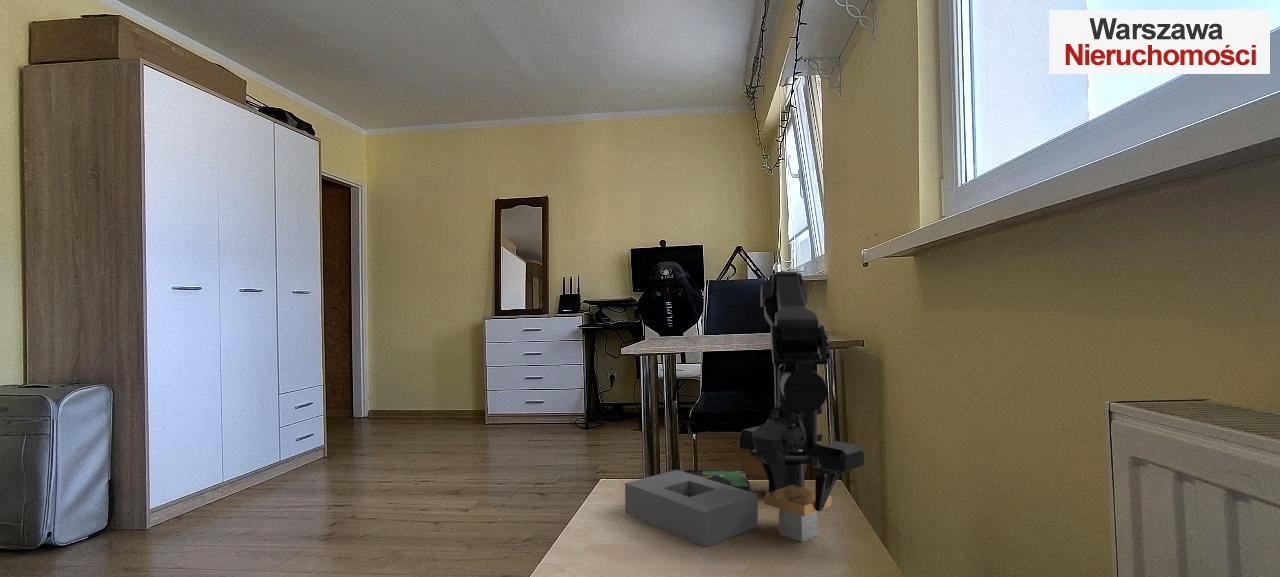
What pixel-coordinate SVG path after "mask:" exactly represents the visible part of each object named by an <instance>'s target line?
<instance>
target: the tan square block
mask: <svg viewBox="0 0 1280 577" xmlns="http://www.w3.org/2000/svg"><path fill="white" fill-rule="evenodd" d="M832 499H833V498H832V495H831V494H829V497H828V499H827V501H826V503H825V506H824V508H823V509H826V508H829V507H831V506H832V505H833V504H832V501H833V500H832ZM764 504H765V505H767V506H770V507H773V508H776V509H778V531H779V532H778V533H779V534H778V535H781V536H783V537H787V538H789V539H792V540H795V541H798V542H801V543H803V542H805V541H808V540H810V539H812V538H814V537H817V536H818V511H817V510H816V502H815V490H814V489H810V488H806V487H804V488H803V487H799V486H795V485H789V486H787V487H784V488H781V489H778V490H775V491H772V492H769V493H766V494H764ZM816 535H817V536H816Z"/></svg>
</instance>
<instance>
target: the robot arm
mask: <svg viewBox="0 0 1280 577" xmlns="http://www.w3.org/2000/svg"><path fill="white" fill-rule="evenodd" d="M808 299H809V296H808V283H807V281H806V280H804V279H803V278H802V273H798V272H797V271H777V272H775V273H772V275H771V277H770V278H768V279H767V280H765V281H763V282H761V286H760V307H761V308H764V309H763V311H764V319H765V320H766V322H767V323H768V325H769V326H770V347H771V358H772V364H773V372H774V373H773V375H774V381H773V383H774V406H772V410H771V412H770V415H769V416H768V418H767V421H765V422H764V423H762V424H761V425H757V426H754V427H750V428H749V427H748V428H745V429H744V428H743V429H742V430H741V432H740V433H739V435H738V448H739V449H742V450H748V451H749V454H750V456H752V457H754V458H756V460H757V461H759V462H760V463H761V465H762V467H763V469H764V471H765V474H766V477H767V479H768V488H767V489H764V490H762V495H765V494H766V493H769V492H772V491H775V490H778V489H781V488H784V487H787V486H789V485H795V486H799V487H803V488H805V465H806V464H807V465H813V463H815V462H816V461H815V460H816V459H815V458H817V462H818V464H817V465H813V466H811V467H810V469H811V471H812V473H813V474H814V477H815V481H814V482H815V485H814V486H815V490H814V491H815V502H816V510H817V512H821V511H823V508H824V506H825V503H826V501H827V499H828V497H829V495H831V492H832V490H833V487H834V486H835V483H836V481H837V480H838V478H839V477H840V475H841V474H842V472H843V473H844V472H847V471H848V472H849V471H851V470H854V469H857V468H859V467H862V466H864V465H865V453H864V451H863V449H862V448H861V446H860V445H858V444H854V443H849V442H844V441H839V440H837V441H834V442H830V443H827V444H826V443H825V444H818V443H819V442H822V441H823V434H822V433H818V415H821V414H823V405H824V403H825V402H826V400H827V395H828V388H827V384H826V382H825V380H824V379H823V377H822V376H820V375H819V374H818V370H817V369H818V368H817V365H818V366H821V365H822V366H827V365H828V363H829V361H828V360H830V358H831V350H830V344H829V335H828V332H827V331H825V326H824V325H823V324H820V321H819V318H818V315H817V313H816V312H814V311H812V310H810V309H808V308H807V304H808V301H809V300H808ZM824 509H825V508H824Z"/></svg>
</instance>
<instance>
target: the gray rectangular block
mask: <svg viewBox="0 0 1280 577" xmlns="http://www.w3.org/2000/svg"><path fill="white" fill-rule="evenodd" d="M673 470H674V471H670V472H668V471H667V472H662V473H659V474H655V475H652V476H647V477H645V478H641V479H636V480H633V481H628V482H625V483H624V497H625V498H624V513H627V514H629V515H628V516H630V515H631V516H630V517H632V516H633V518H634V517H635V518H634V519H637V520H639V521H640V522H644V523H646V524H649V525H651V526H654V527H656V528H658V529H661V530H663V531H666V532H668V533H670V534H673V535H675V536H678V537H680V538H682V539H684V540H687V541H688V542H692V543H694V544H696V545H698V546H701V547H703V548H707V547H709V546H712V545H715V544H717V543H719V542H722V541H725V540H727V539H730V538H732V537H735V536H737V535H739V534H742V533H744V532H748V531H749V530H752V529H753V530H754V529H755V528H757V527H759V501H758V500H759V498H758V496H759V495H758V493H755V492H752V491H750V492H749V491H745V490H742V489H739V488H735V487H732V486H729V485H726V484H722V483H719V482H716V481H712V480H709V479H706V478H702V477H699V476H696V475H693V474H689V473H686V472H683V471H679V470H680V469H673ZM627 514H626V515H627Z"/></svg>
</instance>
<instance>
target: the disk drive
mask: <svg viewBox="0 0 1280 577" xmlns="http://www.w3.org/2000/svg"><path fill="white" fill-rule="evenodd" d="M674 470H675V469H668V470H667V472H670V471H674ZM678 470H679V471H683V472H686V473H689V474H693V475H696V476H699V477H702V478H706V479H709V480H712V481H716V482H719V483H722V484H726V485H729V486H732V487H735V488H739V489H742V490H745V491H749V492H751V484H750V483H749V480H748V478H747V476H746V474H745V471H742V470H735V471H734V470H731V469H730V470H729V469H728V470H727V469H726V470H716V469H715V470H710V469H709V470H708V469H707V470H706V469H705V470H704V469H702V470H701V469H697V470H696V469H691V470H690V469H683V470H682V469H678Z"/></svg>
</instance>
